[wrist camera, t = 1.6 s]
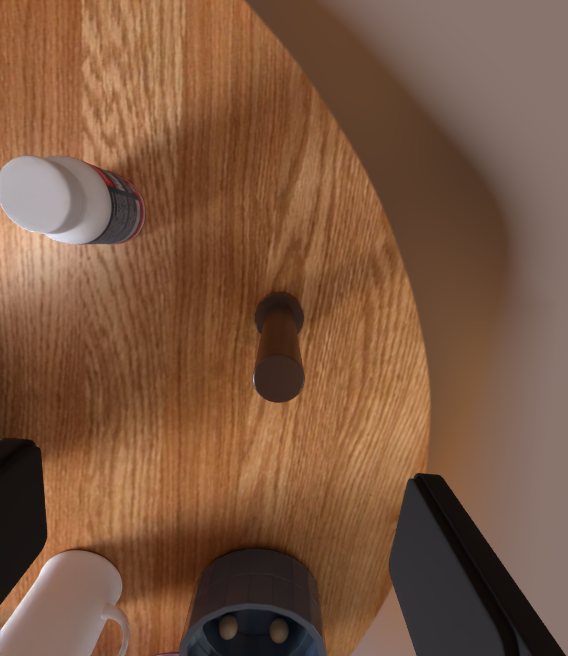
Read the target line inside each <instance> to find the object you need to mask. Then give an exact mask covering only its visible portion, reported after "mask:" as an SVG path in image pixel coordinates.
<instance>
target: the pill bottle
mask: <svg viewBox="0 0 568 656" xmlns="http://www.w3.org/2000/svg"><path fill="white" fill-rule="evenodd" d="M0 204H1V206H2V208H3V210H4V212H5V213H6V215H7V216H8V217H9V218H10V219H11V220H12V221H13V222H14V223H15V224H16V225H18V226H19V227H21V228H23V229H25V230H27V231H31V232H34V233H42V234H44V235H46V236H48V237H49V238H51V239H53V240H56V241H58V242H62V243H67V244H79V245H82V244H122V243H125V242H128V241H130V240H132V239H133V238H134V237H136V236H137V235H138V233H139V232H140V231H141V229H142V227H143V224H144V221H145V206H144V202H143V199H142V197H141V195H140V193H139V192H138V190H137V189H136V188H135V186H134V185H133V184H131V183H130V182H129V181H128V180H126V179H125V178H123V177H121V176H118V175H116V174H114V173H111V172H108V171H106V170H103V169H101V168H98V167H96V166H93V165H91V164H88V163H86V162H84V161H81V160H79V159H75V158H72V157H67V156H50V157H46V158H41V157H37V156H28V155H26V156H20V157H17V158H14V159H12V160H11V161H9V162H8V163H7V164H6V165H5V166H4V167H3V168H2V170H1V172H0Z"/></svg>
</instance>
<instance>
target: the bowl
mask: <svg viewBox="0 0 568 656" xmlns="http://www.w3.org/2000/svg"><path fill="white" fill-rule="evenodd" d="M229 614H230V615H233V616H234V617H235V618H236V620H237V623H238V629H237V632H236V634H235V636H234V637H233V638H231V639H229V640H226V639H223V638H222V637H221V636H220V634H219V623H220V621H221V619H222V618H223V617H224V616H225V615H229ZM277 618H281V619H283V620H285V621H286V623H287V625H288V630H289V632H288V636H287V639H286V640H285V641H284V642H283V643H275V642H274V641H273V640H272V638H271V636H270V626H271V624H272V622H273V621H274V620H275V619H277ZM179 656H327V652H326V643H325V635H324V626H323V617H322V608H321V599H320V594H319V589H318V585H317V582H316V580H315V579H314V577H313V576H312V574H311V573H310V571H309V570H308V569H307V568H306V567H305V566H303V565H302V564H301V563H299V562H298V561H297V560H295V559H294V558H292V557H290V556H287V555H284V554H282V553H279V552H276V551H273V550H263V549H248V550H242V551H236V552H232V553H230V554H227V555H225V556H223V557H221V558H219V559H217V560H215V561H214V562H213V563H212V564H211V565H209V566H208V567H207V568H206V569H205V570H204V571H203V572H202V573H201V575H200V577H199V579H198V581H197V583H196V585H195V587H194V590H193V594H192V598H191V602H190V607H189V611H188V615H187V619H186V623H185V627H184V631H183V635H182V639H181V643H180V649H179Z"/></svg>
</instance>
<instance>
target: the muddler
mask: <svg viewBox="0 0 568 656" xmlns="http://www.w3.org/2000/svg"><path fill="white" fill-rule="evenodd" d="M303 322H304V314H303V310H302V307H301V305H300V303H299V302H298V300H297V299H296V298H295V297H293V296H292V295H290V294H288V293H285V292H274V293H271V294H269V295H267V296H265V297H264V298H263V299H262V300H261V301H260V303H259V305H258V307H257V310H256V313H255V323H256V327H257V329H258V331H259V332H260V333H261V338H260V343H259V348H258V353H257V358H256V363H255V368H254V372H253V384H254V387H255V389H256V391H257V392H258V393H259V395H261V396H262V397H263V398H264V399H266V400H268V401H271V402H276V403H281V402H286V401H289V400H291V399H293V398H295V397H296V396H297V395H298V394H299V393H300V391H301V390H302V388H303V385H304V381H305V375H304V370H303V364H302V358H301V353H300V347H299V342H298V336H297V334H298V333H299V332H300V330H301V328H302V326H303Z"/></svg>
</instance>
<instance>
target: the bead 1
mask: <svg viewBox="0 0 568 656" xmlns="http://www.w3.org/2000/svg"><path fill="white" fill-rule="evenodd" d="M237 629H238V623H237V620H236V618H235V617H234V616H233V615H230V614H229V615H225V616H224V617H223V618H222V619H221V621H220V623H219V634H220V636H221V637H222V638H223V639H226V640H229V639H231V638H233V637H234V636H235V634H236V632H237Z"/></svg>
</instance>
